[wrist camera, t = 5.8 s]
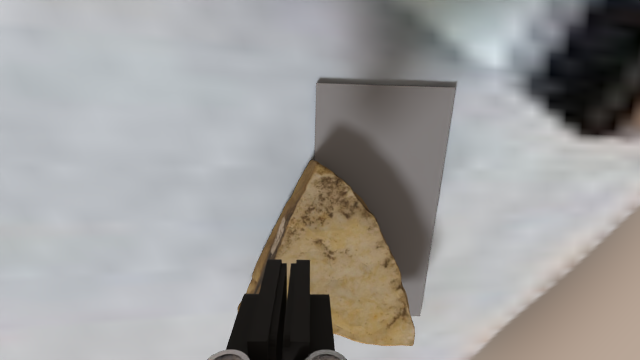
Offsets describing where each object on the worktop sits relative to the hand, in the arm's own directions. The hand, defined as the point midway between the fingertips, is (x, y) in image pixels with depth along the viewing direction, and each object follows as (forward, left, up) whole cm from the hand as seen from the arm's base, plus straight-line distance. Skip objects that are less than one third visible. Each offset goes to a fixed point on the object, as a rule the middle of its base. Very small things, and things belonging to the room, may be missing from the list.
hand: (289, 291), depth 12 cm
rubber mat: (-5, 0, -8) cm, 9 cm away
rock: (+2, +1, -6) cm, 6 cm away
